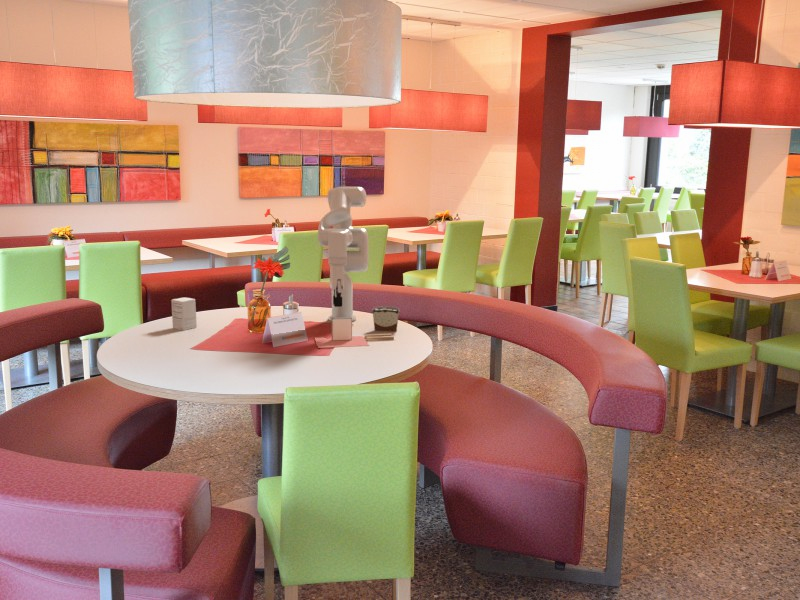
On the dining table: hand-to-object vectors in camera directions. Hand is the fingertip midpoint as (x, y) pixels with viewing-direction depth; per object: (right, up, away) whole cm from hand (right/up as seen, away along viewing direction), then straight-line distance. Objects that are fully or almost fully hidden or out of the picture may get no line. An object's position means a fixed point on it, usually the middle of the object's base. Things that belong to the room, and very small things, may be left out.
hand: (337, 305), depth 316 cm
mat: (+2, -15, -8) cm, 17 cm away
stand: (+17, -14, -2) cm, 22 cm away
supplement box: (-67, -10, +15) cm, 69 cm away
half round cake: (+20, -11, +15) cm, 27 cm away
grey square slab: (-2, -10, -7) cm, 12 cm away
